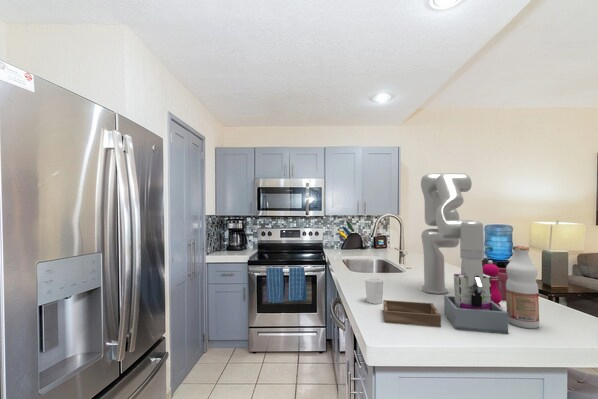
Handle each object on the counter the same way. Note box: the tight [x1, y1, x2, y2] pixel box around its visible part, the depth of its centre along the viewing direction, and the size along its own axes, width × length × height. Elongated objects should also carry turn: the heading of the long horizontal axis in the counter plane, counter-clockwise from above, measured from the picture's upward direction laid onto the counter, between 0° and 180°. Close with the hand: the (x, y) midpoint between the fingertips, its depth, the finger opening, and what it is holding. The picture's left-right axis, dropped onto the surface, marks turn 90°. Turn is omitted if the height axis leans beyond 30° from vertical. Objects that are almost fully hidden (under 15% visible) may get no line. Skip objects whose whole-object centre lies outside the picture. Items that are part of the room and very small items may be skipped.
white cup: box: [364, 277, 384, 305], centre depth 132 cm, size 8×8×10 cm
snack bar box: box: [453, 273, 492, 311], centre depth 108 cm, size 11×5×16 cm, turn 87°
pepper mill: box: [482, 259, 503, 307], centre depth 124 cm, size 7×7×20 cm
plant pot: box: [497, 267, 508, 301], centre depth 138 cm, size 14×14×13 cm
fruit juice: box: [505, 245, 540, 329], centre depth 107 cm, size 9×9×28 cm
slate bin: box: [443, 295, 509, 335], centre depth 108 cm, size 16×16×7 cm
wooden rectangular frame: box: [382, 299, 442, 328], centre depth 113 cm, size 14×19×4 cm
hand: (473, 302), depth 108 cm, fingers open, 7 cm apart
